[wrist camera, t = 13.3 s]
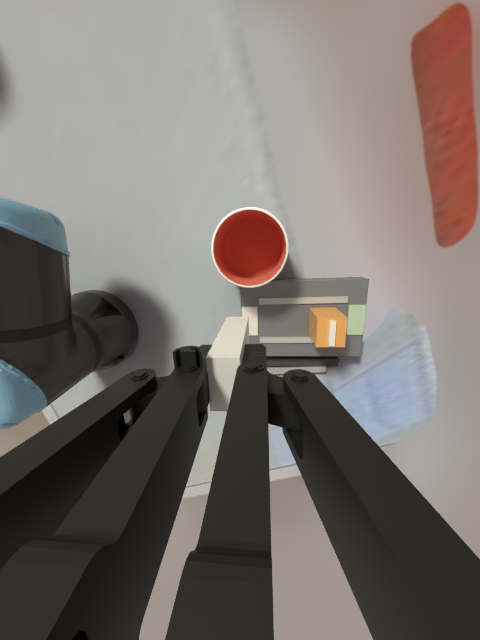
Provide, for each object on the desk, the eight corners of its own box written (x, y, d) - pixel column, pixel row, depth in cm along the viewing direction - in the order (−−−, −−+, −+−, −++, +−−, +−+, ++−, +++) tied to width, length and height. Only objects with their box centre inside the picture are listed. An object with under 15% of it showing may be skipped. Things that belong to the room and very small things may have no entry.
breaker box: (244, 349, 46) (243, 356, 43) (241, 280, 42) (240, 283, 39) (354, 349, 44) (361, 357, 41) (361, 277, 40) (369, 279, 37)
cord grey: (250, 372, 47) (250, 374, 46) (250, 366, 47) (249, 369, 46) (324, 369, 46) (325, 372, 45) (324, 363, 45) (326, 366, 44)
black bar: (250, 362, 47) (249, 365, 45) (249, 356, 46) (249, 358, 45) (336, 363, 45) (337, 366, 44) (336, 356, 45) (338, 359, 43)
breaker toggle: (308, 333, 41) (316, 348, 34) (309, 307, 39) (318, 319, 33) (333, 333, 40) (346, 348, 34) (335, 307, 39) (349, 318, 33)
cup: (261, 289, 42) (260, 302, 33) (212, 258, 42) (197, 261, 32) (294, 238, 40) (304, 235, 30) (243, 204, 39) (236, 190, 29)
